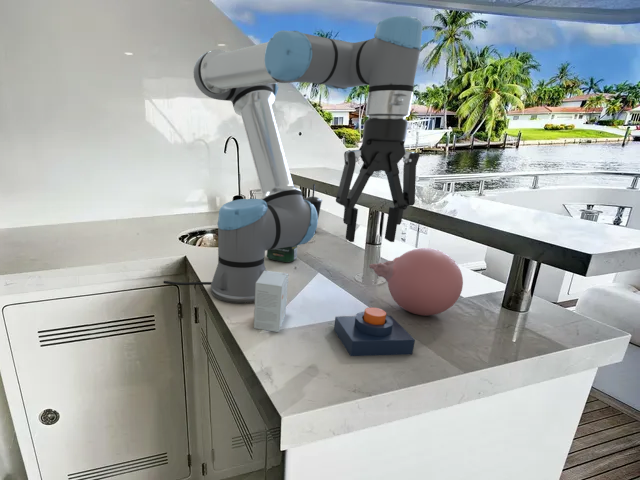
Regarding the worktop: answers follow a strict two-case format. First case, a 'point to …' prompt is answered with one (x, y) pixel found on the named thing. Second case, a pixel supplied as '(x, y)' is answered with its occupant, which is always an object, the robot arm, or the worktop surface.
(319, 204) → the drinking cup
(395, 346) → the push button
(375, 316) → the orange button cap
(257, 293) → the small box
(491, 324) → the worktop surface
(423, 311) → the balloon
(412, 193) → the robot arm
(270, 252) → the coffee jar
